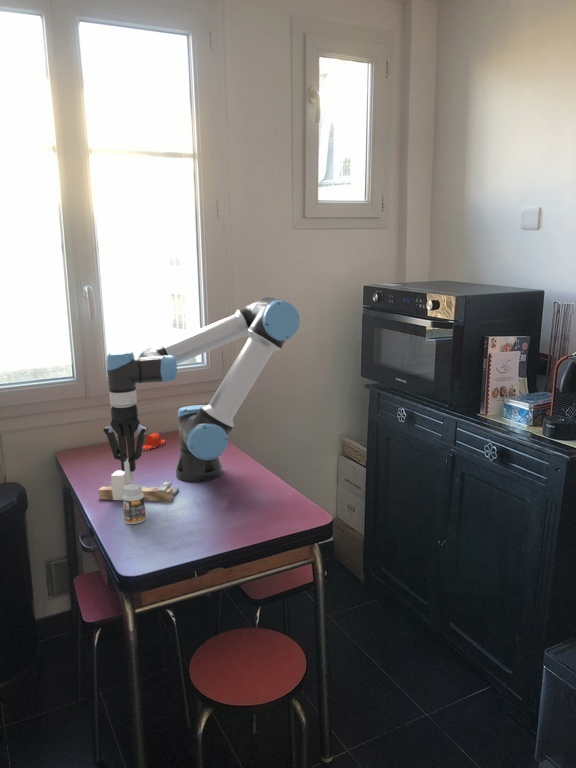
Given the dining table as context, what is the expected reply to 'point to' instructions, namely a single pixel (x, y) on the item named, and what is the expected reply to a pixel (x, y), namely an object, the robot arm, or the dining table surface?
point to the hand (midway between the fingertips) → (129, 481)
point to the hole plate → (174, 489)
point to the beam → (149, 493)
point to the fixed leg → (165, 486)
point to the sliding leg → (118, 484)
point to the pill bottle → (134, 504)
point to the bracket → (153, 441)
